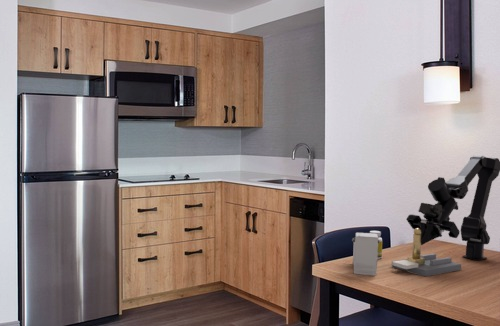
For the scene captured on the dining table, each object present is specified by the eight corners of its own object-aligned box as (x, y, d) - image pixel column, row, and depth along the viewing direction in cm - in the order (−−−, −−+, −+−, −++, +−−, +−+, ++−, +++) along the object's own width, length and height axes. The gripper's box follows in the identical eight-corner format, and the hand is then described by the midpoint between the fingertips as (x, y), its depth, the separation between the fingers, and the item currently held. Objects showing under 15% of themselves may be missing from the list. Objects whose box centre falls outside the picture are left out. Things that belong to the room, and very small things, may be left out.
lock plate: (427, 261, 199) (428, 251, 199) (460, 269, 188) (461, 259, 188) (391, 266, 189) (392, 256, 189) (424, 276, 177) (425, 265, 177)
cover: (404, 263, 186) (404, 259, 186) (418, 267, 181) (418, 263, 181) (392, 265, 183) (392, 261, 183) (406, 269, 178) (406, 265, 178)
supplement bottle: (383, 257, 204) (384, 231, 203) (380, 260, 199) (381, 233, 198) (368, 255, 206) (369, 229, 206) (365, 258, 201) (366, 231, 201)
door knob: (417, 262, 188) (418, 226, 187) (424, 264, 185) (426, 228, 185) (407, 263, 185) (409, 227, 184) (414, 265, 182) (416, 229, 182)
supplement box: (376, 276, 176) (378, 237, 175) (353, 274, 177) (355, 235, 177) (376, 270, 183) (377, 233, 183) (353, 268, 185) (355, 231, 184)
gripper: (411, 191, 196) (388, 224, 190) (456, 197, 180) (432, 233, 174) (424, 212, 200) (402, 244, 195) (469, 220, 185) (447, 255, 179)
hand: (420, 244), depth 186 cm, fingers closed, pressing on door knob
